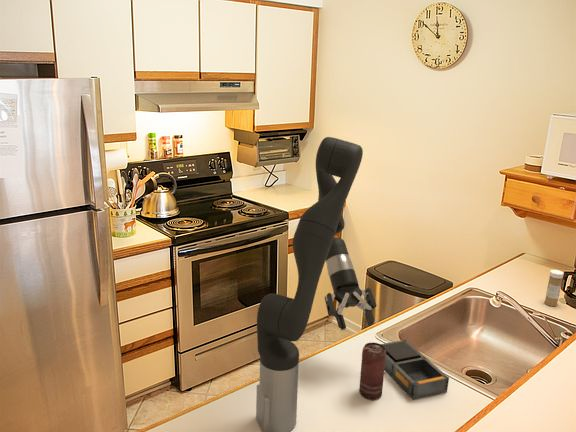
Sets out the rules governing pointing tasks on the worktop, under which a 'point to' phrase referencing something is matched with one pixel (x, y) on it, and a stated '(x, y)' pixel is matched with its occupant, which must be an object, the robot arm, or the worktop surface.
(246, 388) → the worktop surface
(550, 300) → the sprinkles bottle
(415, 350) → the dark grey open box
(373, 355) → the can
